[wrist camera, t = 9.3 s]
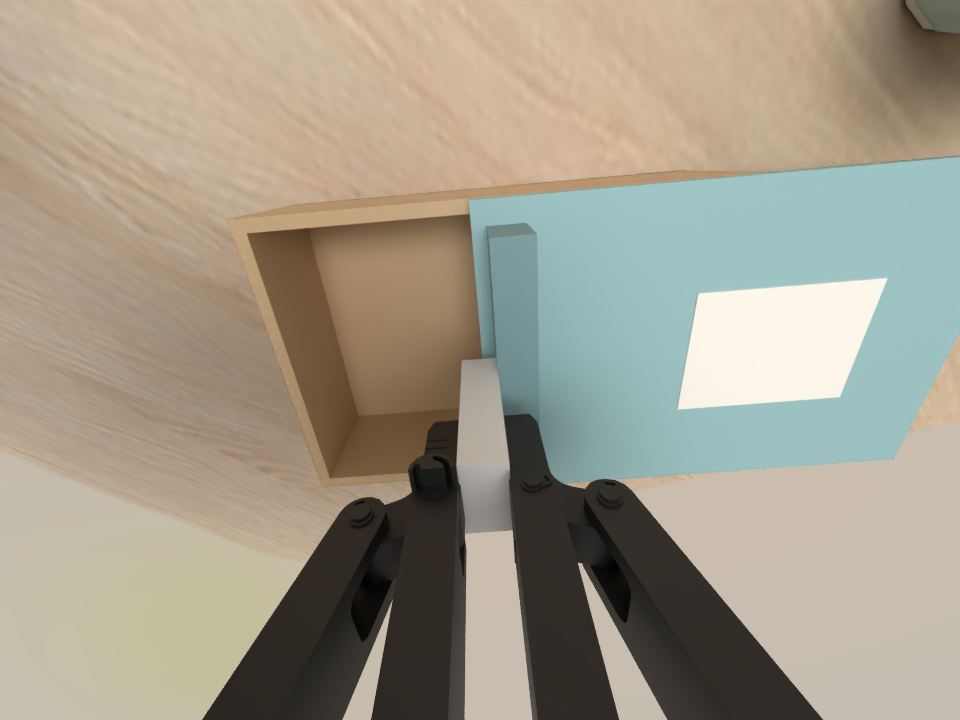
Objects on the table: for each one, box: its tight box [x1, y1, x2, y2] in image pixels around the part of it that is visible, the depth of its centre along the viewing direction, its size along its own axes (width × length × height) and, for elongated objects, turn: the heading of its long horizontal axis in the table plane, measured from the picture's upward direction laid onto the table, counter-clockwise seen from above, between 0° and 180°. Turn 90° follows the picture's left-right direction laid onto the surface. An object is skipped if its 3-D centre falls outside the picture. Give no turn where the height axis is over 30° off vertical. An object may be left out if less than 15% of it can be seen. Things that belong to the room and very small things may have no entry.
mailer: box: [227, 171, 762, 487], centre depth 22 cm, size 22×15×7 cm
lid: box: [469, 155, 960, 483], centre depth 17 cm, size 22×15×4 cm
